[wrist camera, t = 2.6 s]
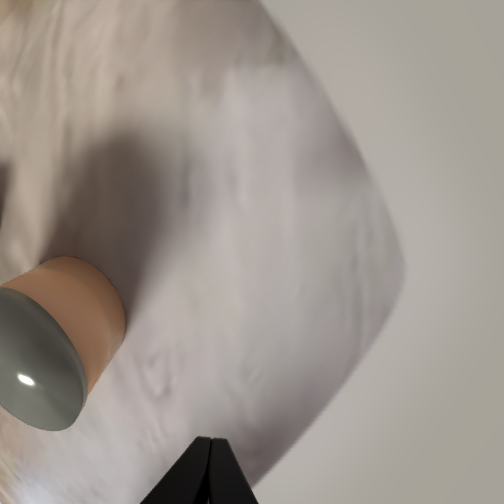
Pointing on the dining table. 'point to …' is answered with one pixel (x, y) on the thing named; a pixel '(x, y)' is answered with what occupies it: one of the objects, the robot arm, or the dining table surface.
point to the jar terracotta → (56, 340)
